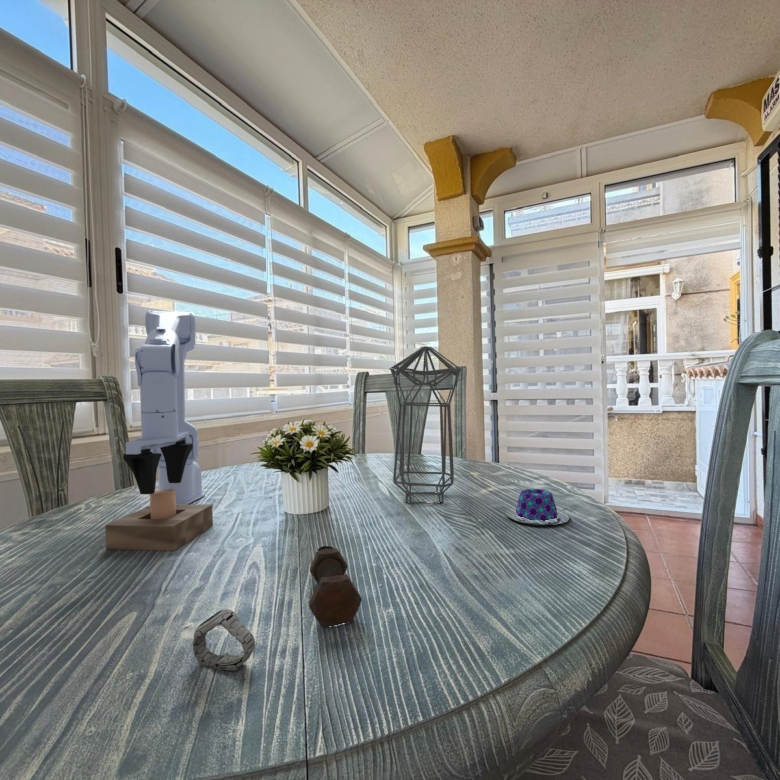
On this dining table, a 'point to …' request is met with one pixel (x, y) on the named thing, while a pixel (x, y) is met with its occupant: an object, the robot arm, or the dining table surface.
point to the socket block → (158, 529)
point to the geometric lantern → (404, 366)
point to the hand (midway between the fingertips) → (161, 488)
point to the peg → (163, 504)
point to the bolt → (332, 589)
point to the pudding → (536, 505)
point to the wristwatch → (235, 629)
